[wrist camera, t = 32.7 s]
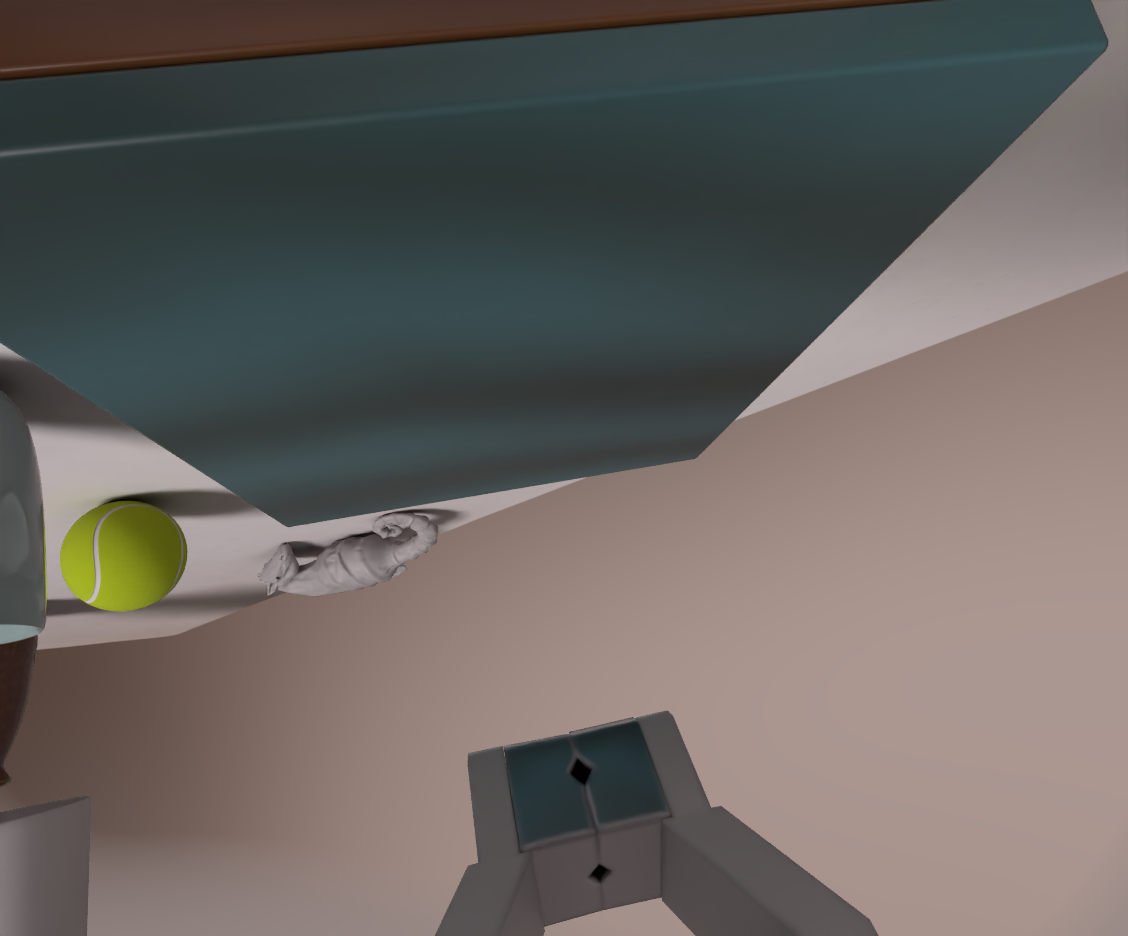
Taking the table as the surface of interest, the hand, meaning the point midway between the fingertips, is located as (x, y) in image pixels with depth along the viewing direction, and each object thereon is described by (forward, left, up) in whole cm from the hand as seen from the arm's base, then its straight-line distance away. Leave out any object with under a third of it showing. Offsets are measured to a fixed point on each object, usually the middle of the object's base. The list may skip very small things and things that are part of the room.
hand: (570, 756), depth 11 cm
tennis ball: (+22, -39, -16) cm, 47 cm away
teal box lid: (+2, -1, -7) cm, 8 cm away
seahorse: (+47, -42, -16) cm, 65 cm away
